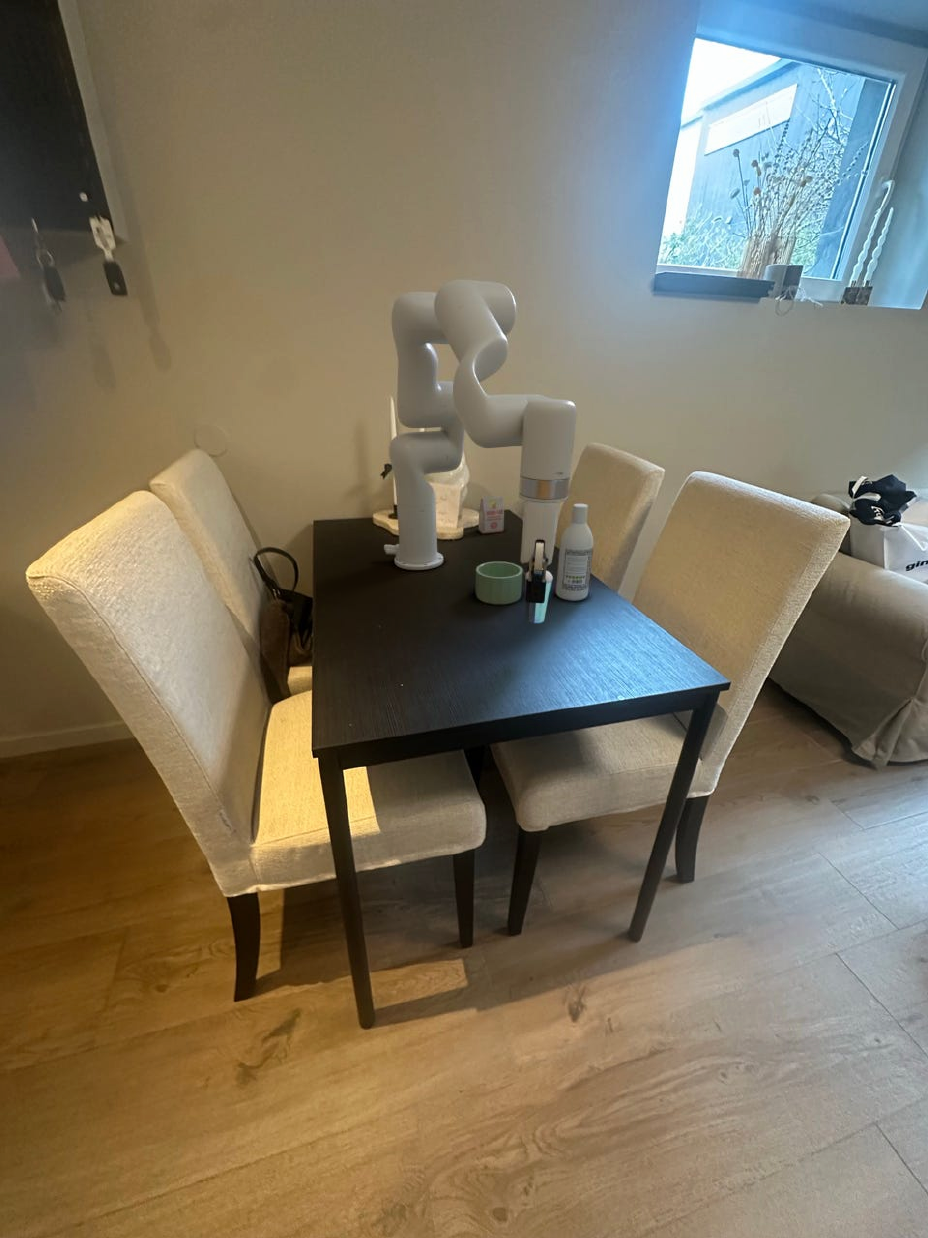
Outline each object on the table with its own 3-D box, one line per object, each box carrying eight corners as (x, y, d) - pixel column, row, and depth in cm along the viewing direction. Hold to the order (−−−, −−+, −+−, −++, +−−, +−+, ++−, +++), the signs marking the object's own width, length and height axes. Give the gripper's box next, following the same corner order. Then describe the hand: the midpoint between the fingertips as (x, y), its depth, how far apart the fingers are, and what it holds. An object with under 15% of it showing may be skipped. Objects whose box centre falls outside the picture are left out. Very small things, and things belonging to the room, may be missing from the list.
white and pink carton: (478, 530, 154) (479, 497, 149) (498, 528, 156) (499, 496, 151) (482, 533, 151) (483, 500, 146) (503, 531, 153) (504, 498, 148)
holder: (473, 603, 106) (473, 576, 104) (478, 584, 115) (478, 560, 112) (520, 605, 105) (521, 579, 102) (521, 587, 114) (523, 562, 111)
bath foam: (593, 598, 108) (605, 507, 99) (565, 603, 106) (574, 510, 97) (576, 587, 114) (586, 499, 105) (549, 591, 112) (557, 502, 103)
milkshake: (515, 613, 88) (518, 561, 84) (545, 612, 89) (550, 560, 84) (520, 626, 85) (524, 571, 80) (551, 624, 85) (556, 570, 80)
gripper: (521, 474, 84) (515, 574, 92) (516, 500, 69) (510, 616, 78) (566, 476, 83) (556, 577, 92) (571, 503, 68) (558, 620, 77)
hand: (535, 594), depth 84 cm, fingers closed on milkshake, 4 cm apart
